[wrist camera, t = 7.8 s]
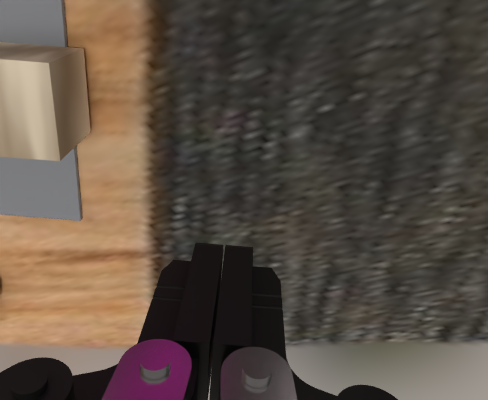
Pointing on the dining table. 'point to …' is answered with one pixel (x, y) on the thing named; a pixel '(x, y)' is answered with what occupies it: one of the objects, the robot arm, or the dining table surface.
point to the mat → (32, 170)
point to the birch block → (42, 101)
